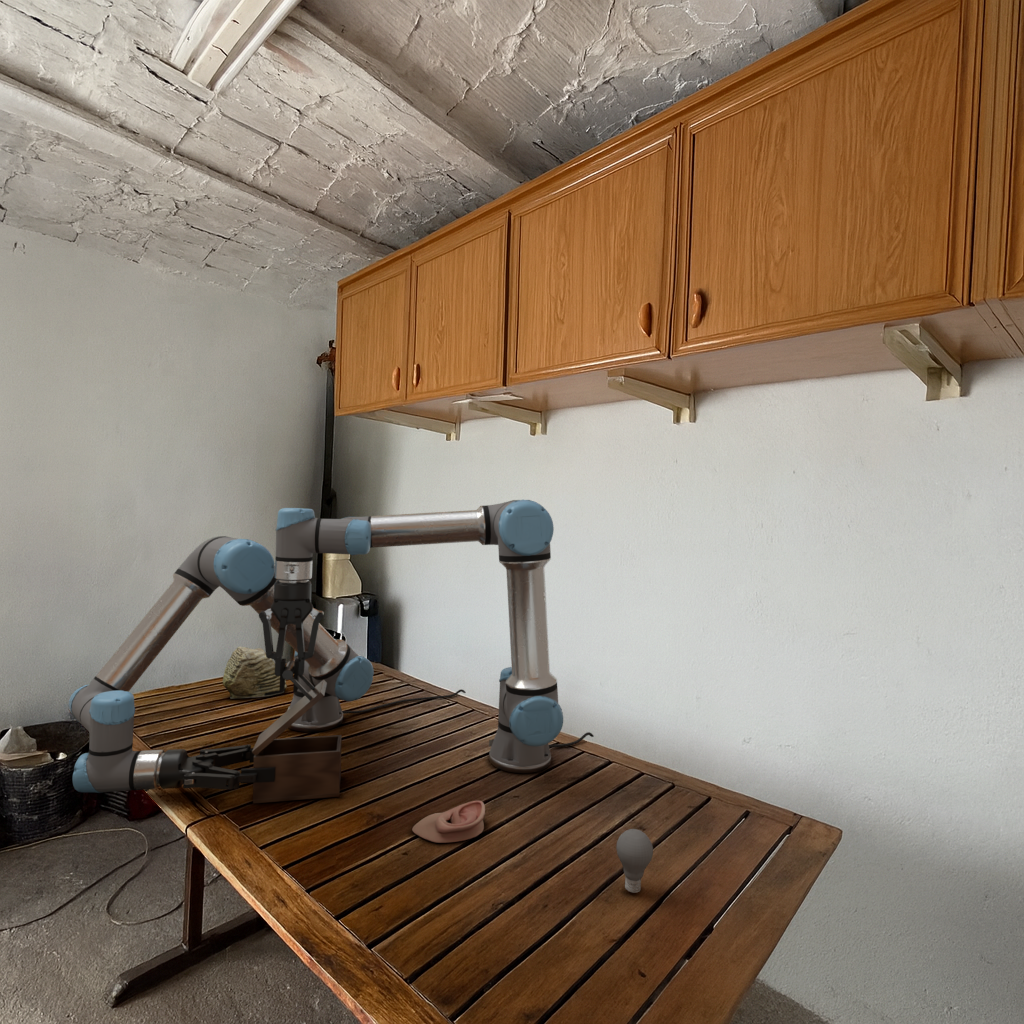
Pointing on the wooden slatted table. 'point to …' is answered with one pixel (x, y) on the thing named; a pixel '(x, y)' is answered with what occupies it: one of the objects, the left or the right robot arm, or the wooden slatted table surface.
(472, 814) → the anatomical model
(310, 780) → the chest
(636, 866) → the light bulb
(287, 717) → the lid
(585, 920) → the wooden slatted table surface
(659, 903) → the wooden slatted table surface
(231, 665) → the fossil
